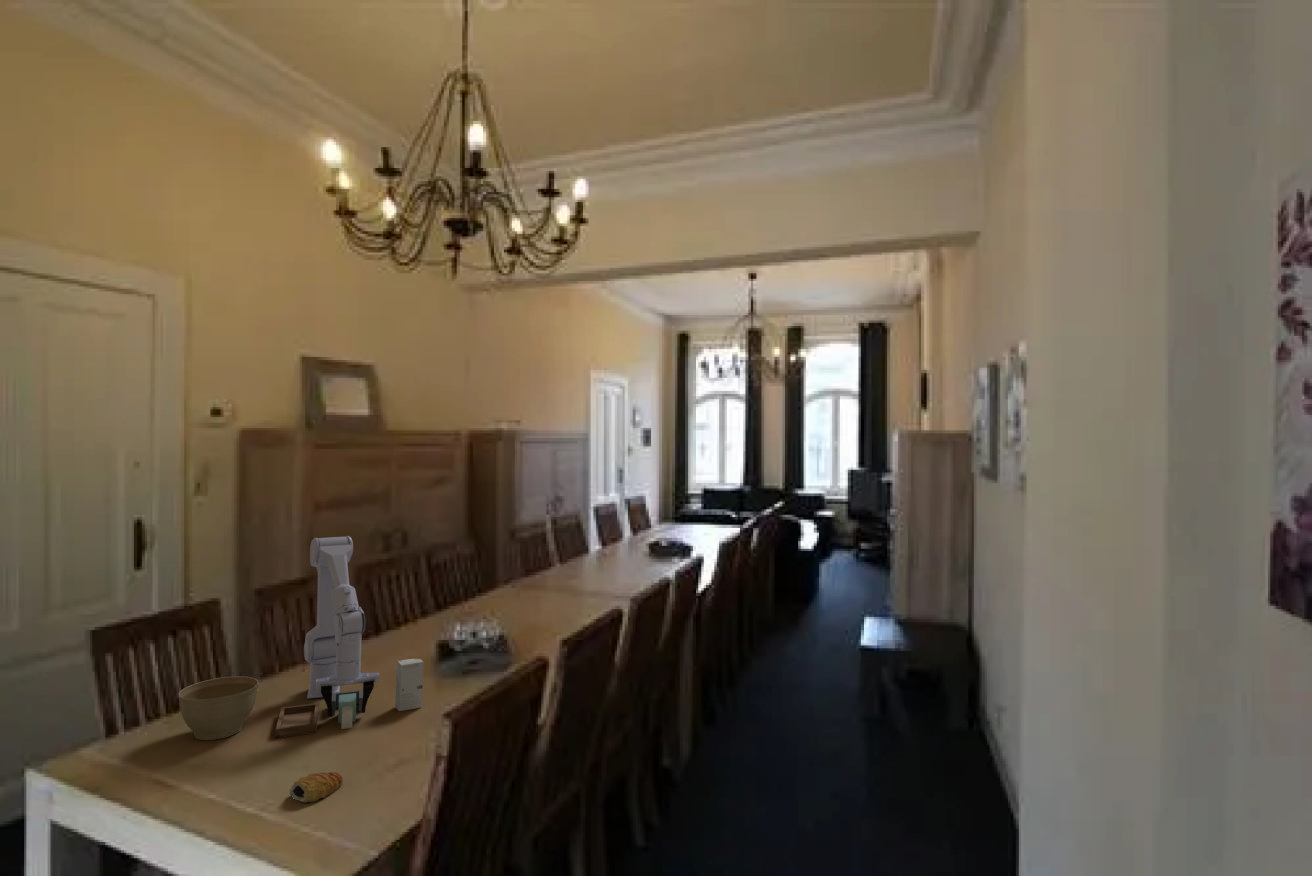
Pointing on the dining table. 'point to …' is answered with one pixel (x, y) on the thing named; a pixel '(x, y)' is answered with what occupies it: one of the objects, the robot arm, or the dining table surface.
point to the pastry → (315, 786)
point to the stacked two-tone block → (347, 710)
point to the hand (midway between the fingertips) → (347, 713)
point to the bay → (336, 695)
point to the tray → (297, 720)
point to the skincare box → (409, 684)
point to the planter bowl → (218, 706)
